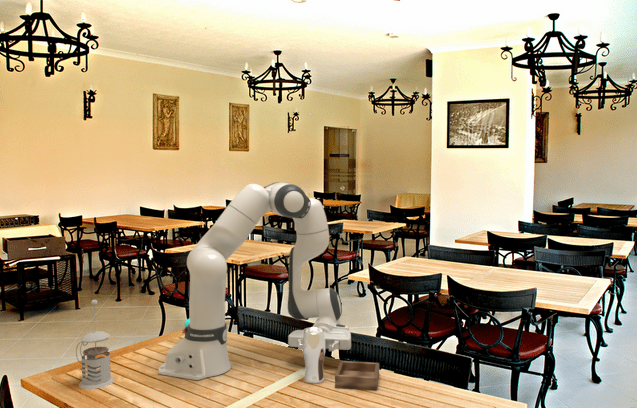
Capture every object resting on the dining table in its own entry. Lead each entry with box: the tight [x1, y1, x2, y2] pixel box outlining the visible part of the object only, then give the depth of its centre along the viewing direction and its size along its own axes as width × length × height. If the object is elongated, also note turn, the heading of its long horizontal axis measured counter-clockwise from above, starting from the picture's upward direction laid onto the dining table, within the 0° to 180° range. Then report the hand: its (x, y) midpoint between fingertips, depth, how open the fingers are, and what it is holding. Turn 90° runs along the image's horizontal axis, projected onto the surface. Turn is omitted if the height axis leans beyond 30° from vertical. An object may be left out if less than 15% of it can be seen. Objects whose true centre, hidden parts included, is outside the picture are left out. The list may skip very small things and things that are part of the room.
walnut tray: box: [334, 360, 380, 392], centre depth 148 cm, size 12×12×4 cm
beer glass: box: [302, 326, 327, 384], centre depth 149 cm, size 7×7×15 cm
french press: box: [75, 299, 115, 390], centre depth 149 cm, size 10×12×25 cm
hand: (315, 348), depth 152 cm, fingers open, 8 cm apart
